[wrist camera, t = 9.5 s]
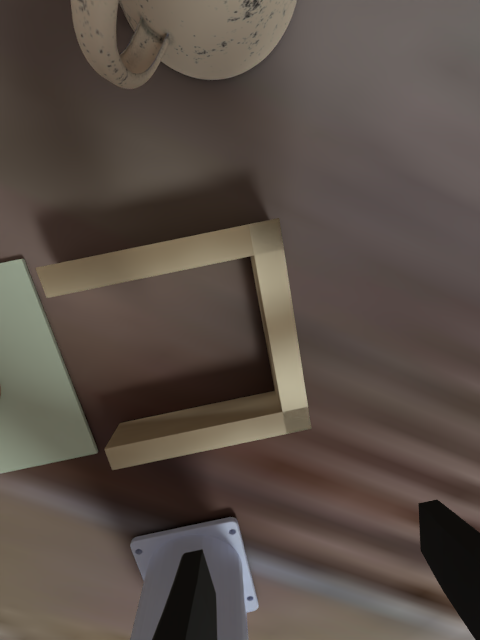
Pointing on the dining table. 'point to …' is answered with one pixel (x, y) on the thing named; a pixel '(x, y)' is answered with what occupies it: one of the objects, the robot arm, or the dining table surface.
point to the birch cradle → (279, 328)
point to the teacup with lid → (179, 36)
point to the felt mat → (34, 382)
